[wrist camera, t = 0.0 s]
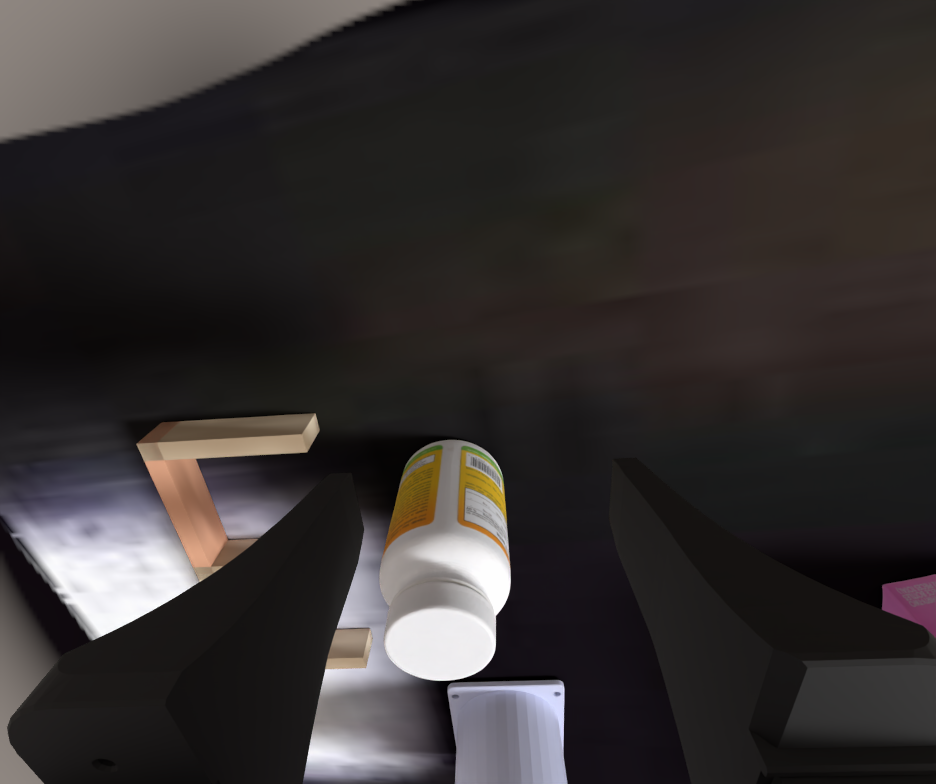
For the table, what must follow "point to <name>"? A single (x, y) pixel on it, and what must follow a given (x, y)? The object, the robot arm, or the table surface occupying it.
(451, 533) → the supplement bottle
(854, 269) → the table surface
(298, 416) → the e-shaped wooden frame
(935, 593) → the gum box
